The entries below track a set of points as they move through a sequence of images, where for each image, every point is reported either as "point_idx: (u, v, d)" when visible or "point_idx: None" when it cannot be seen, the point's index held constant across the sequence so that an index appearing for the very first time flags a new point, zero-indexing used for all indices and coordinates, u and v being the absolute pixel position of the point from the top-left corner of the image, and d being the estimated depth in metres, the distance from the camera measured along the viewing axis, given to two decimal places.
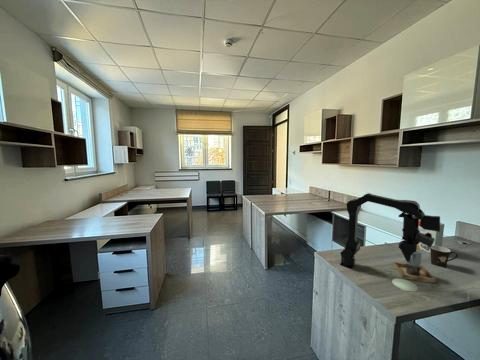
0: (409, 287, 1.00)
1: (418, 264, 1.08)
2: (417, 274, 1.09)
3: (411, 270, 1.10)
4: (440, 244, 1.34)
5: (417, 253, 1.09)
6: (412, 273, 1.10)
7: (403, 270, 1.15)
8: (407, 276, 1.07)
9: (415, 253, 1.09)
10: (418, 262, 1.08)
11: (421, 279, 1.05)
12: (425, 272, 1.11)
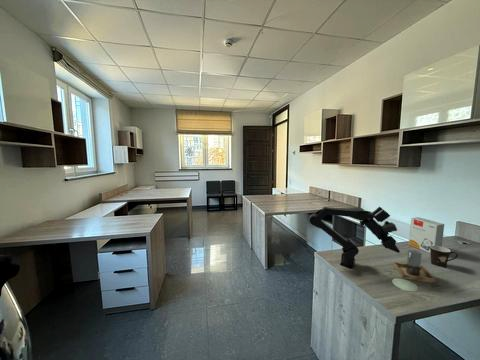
0: (409, 287, 1.00)
1: (418, 264, 1.08)
2: (417, 274, 1.09)
3: (411, 270, 1.10)
4: (440, 244, 1.34)
5: (417, 253, 1.09)
6: (412, 273, 1.10)
7: (403, 270, 1.15)
8: (407, 276, 1.07)
9: (415, 253, 1.09)
10: (418, 262, 1.08)
11: (421, 279, 1.05)
12: (425, 272, 1.11)
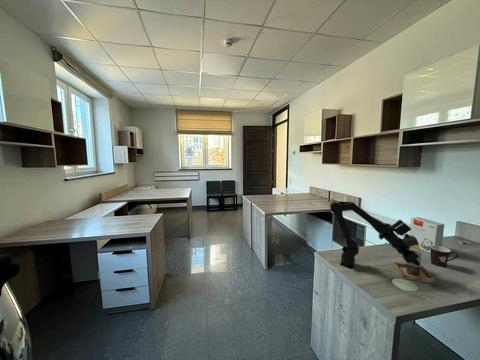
0: (409, 287, 1.00)
1: None
2: (417, 274, 1.09)
3: (411, 270, 1.10)
4: (440, 244, 1.34)
5: (417, 253, 1.09)
6: (412, 273, 1.10)
7: (403, 270, 1.15)
8: (407, 276, 1.07)
9: None
10: None
11: (421, 279, 1.05)
12: (425, 272, 1.11)
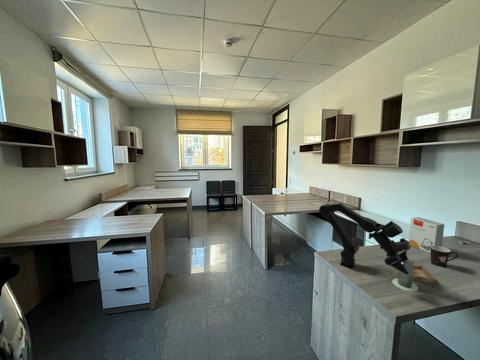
0: None
1: (407, 274, 0.99)
2: (406, 285, 1.00)
3: (400, 279, 1.02)
4: (440, 244, 1.34)
5: (408, 262, 1.00)
6: (400, 283, 1.02)
7: None
8: None
9: (405, 262, 1.01)
10: None
11: (421, 279, 1.05)
12: (425, 272, 1.11)
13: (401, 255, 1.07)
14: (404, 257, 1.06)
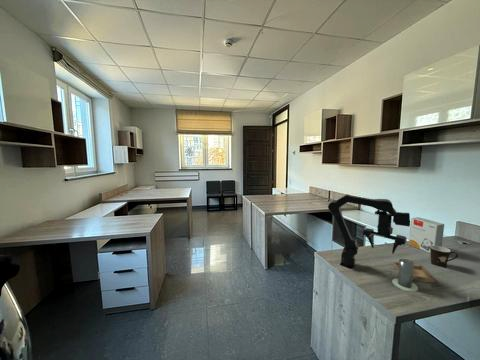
0: None
1: (407, 274, 0.99)
2: (406, 285, 1.00)
3: (400, 279, 1.02)
4: (440, 244, 1.34)
5: (408, 262, 1.00)
6: (400, 283, 1.02)
7: None
8: None
9: (405, 262, 1.01)
10: (407, 272, 0.99)
11: (421, 279, 1.05)
12: (425, 272, 1.11)
13: (372, 237, 1.15)
14: (373, 239, 1.15)
